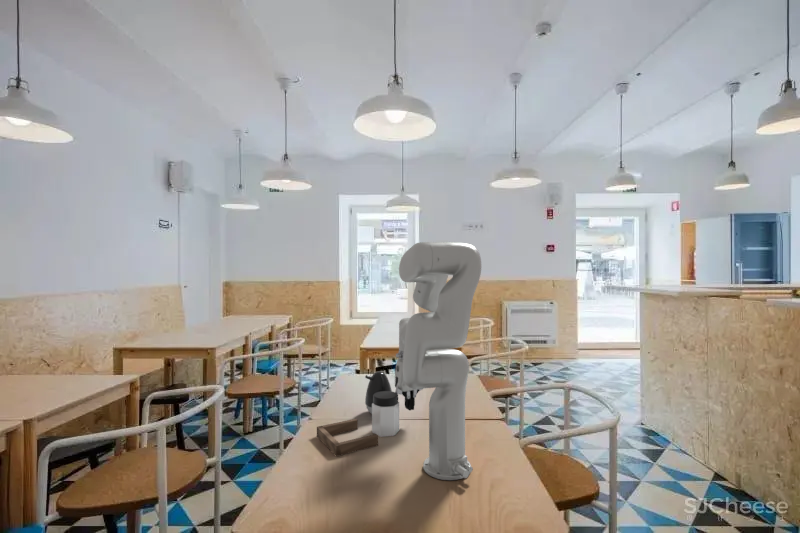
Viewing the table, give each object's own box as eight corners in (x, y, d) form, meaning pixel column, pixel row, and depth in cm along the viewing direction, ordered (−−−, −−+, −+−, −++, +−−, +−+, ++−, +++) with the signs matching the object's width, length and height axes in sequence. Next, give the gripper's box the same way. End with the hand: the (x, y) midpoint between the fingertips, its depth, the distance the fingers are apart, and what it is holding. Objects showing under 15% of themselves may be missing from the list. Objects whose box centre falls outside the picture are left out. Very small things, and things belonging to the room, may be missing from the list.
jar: (404, 432, 133) (404, 395, 133) (384, 439, 128) (384, 400, 128) (387, 424, 140) (387, 389, 140) (367, 430, 135) (367, 393, 135)
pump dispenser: (360, 410, 154) (360, 369, 154) (386, 406, 158) (386, 366, 158) (370, 420, 144) (370, 376, 144) (397, 415, 149) (397, 373, 149)
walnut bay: (378, 445, 124) (378, 435, 124) (336, 456, 117) (336, 445, 117) (355, 427, 138) (355, 418, 138) (316, 436, 131) (316, 426, 131)
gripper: (396, 360, 132) (396, 417, 133) (434, 354, 140) (434, 408, 141) (385, 355, 139) (384, 409, 139) (422, 350, 146) (421, 401, 147)
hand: (409, 408), depth 140 cm, fingers closed
